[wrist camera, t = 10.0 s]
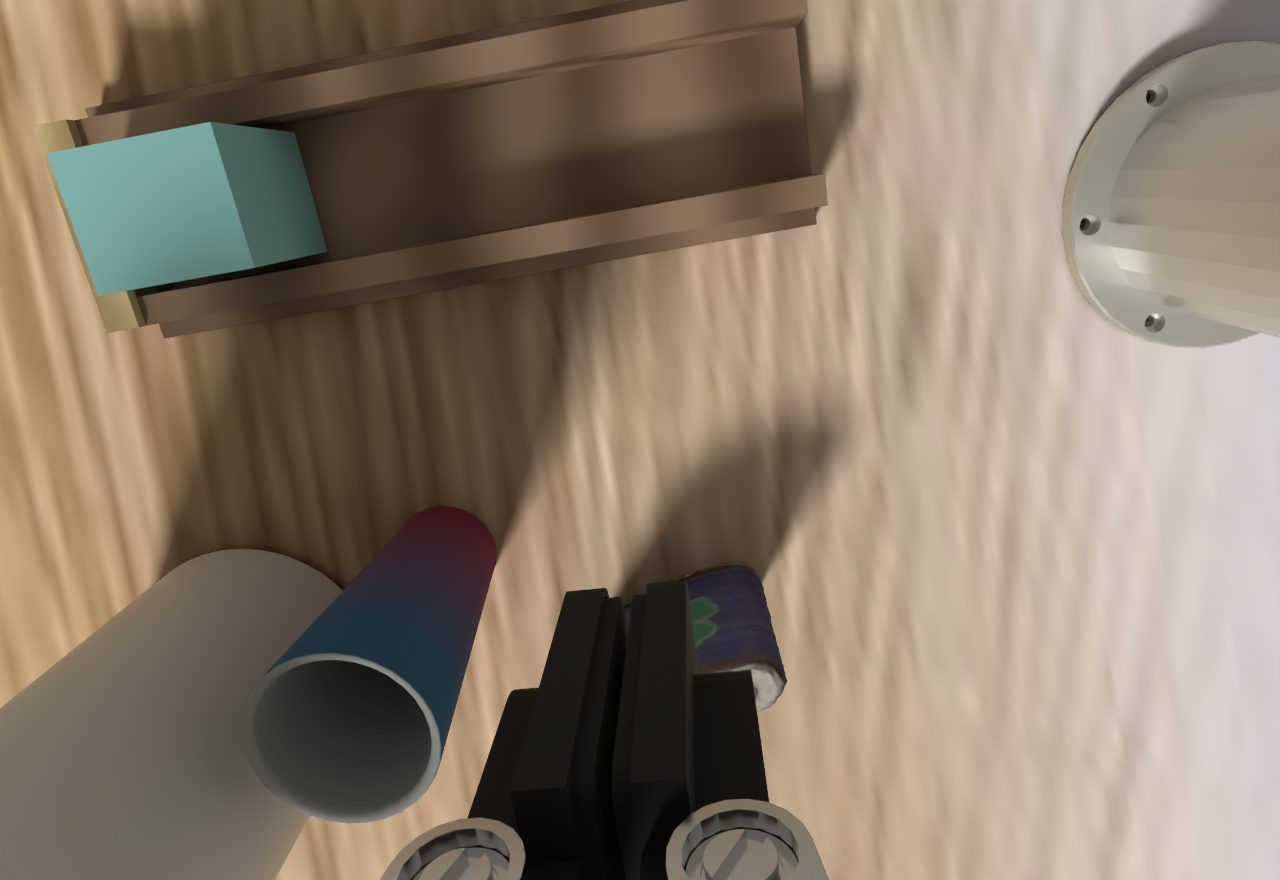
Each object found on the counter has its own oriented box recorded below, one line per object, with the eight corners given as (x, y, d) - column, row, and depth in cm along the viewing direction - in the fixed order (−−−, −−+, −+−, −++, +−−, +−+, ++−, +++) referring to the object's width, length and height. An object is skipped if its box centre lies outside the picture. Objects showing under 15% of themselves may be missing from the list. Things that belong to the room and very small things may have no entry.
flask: (609, 662, 44) (595, 807, 34) (583, 618, 44) (561, 752, 33) (769, 594, 43) (805, 724, 33) (746, 547, 42) (775, 664, 32)
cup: (513, 492, 41) (437, 657, 27) (514, 614, 43) (444, 828, 29) (376, 486, 42) (228, 648, 27) (384, 608, 44) (250, 819, 29)
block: (294, 132, 35) (210, 121, 29) (327, 251, 37) (254, 267, 30) (160, 158, 36) (46, 153, 29) (198, 274, 37) (98, 295, 31)
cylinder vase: (138, 530, 43) (-527, 980, 19) (383, 555, 43) (35, 1035, 19) (155, 737, 46) (-381, 1332, 22) (380, 760, 46) (87, 1375, 23)
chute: (785, -25, 34) (803, -54, 30) (812, 222, 37) (832, 228, 33) (97, 110, 36) (23, 101, 32) (174, 334, 39) (115, 353, 35)
